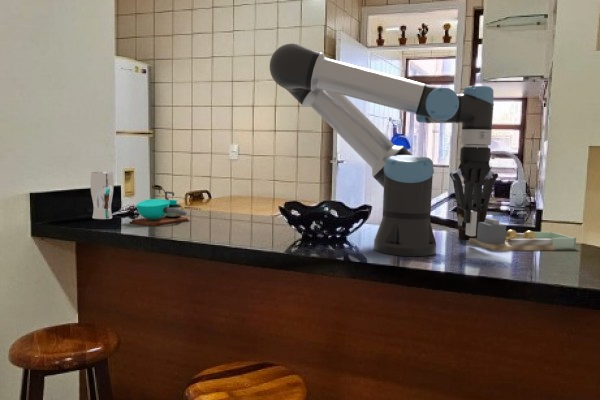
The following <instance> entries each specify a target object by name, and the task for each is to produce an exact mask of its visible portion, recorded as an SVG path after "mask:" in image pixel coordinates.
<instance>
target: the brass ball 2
mask: <svg viewBox="0 0 600 400" xmlns="http://www.w3.org/2000/svg"><path fill="white" fill-rule="evenodd" d="M534 232H535V231H534V230H533V231H532V230H526V231H524V232H523V233H524V235H523V238H524V239H536V234H535V233H534Z"/></svg>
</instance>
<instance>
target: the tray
mask: <svg viewBox="0 0 600 400" xmlns="http://www.w3.org/2000/svg"><path fill="white" fill-rule="evenodd" d="M533 232H534V233H535V234H536V239H553V244H552V245H554V246H555V250H576V246H577V237H572V236H569V235H565V234H561V233H557V232H553V231H533Z"/></svg>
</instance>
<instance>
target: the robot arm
mask: <svg viewBox="0 0 600 400" xmlns="http://www.w3.org/2000/svg"><path fill="white" fill-rule="evenodd" d="M269 72H270V75H271V78H272V80H274V82H275V83H276V84H277V85H278V86H279V87H281V88H283V89H285V90H286V91H287V92H289V94H290V95H291V96H292V97H293V98H294V99H295V100H297V102H298V103H299V104H300V105H301V106H303V107H311V108H312V109H313V110H314V111H315V112H316V113H317V114H318V115H319V116H320V117H321V118H322V119H323V120H324V121H325V122H326V123H327V124H328V126H330V127H331V128H332V129H333V131H335V133H337V134H338V135H339V136H340V137H341V138H342V139H343V140H344V141H345V142H346V144H348V146H350V148H352V149H353V150H354V151H355V152H356V153H357V154H358V156H359V157H361V158H362V160H363V161H364V162H366V164H368V165H369V166H370V167H371V169H372V170H371V171H372V172H371V173H372V175H371V177H372V178H373V179H375V181H377V182H378V184H380V186H382V188H383V196H382V197H383V198H382V199H383V200H382V219H381V221H380V223H379V227H378V229H377V232H376V235H375V237H374V239H373V240H374V241H373V242H374V244H373V249H374V250H375V251H377V252H379V253H383V254H385V255H386V254H387V255H392V256H400V257H426V256H432V255H435V254H436V253H437V242H436V241H437V240H436V239H435V234H434V230H433V227H432V223H431V222H432V221H431V212H432V211H431V210H432V197H433V195H432V194H433V191H432V190H433V177H434V176H433V175H434V172H435V170H434V163H433V160H432V159H431V158H429V157H426V156H422V155H413V154H412V153H411V152H410V151H409V150H408V149H407V148H406V147H405V146H404V145H396V144H394V143H393V142H392V140H390V139H389V138H388V137H387V136H386V135H385V134H384V133H383V132H382V131H381V130H380V129H379V128H378V127H377V126H376V125H375V124H374V123H373V122H372V121H371V120H370V119H369V118H368V117H367V115H365V114H364V113H363V112H362V111H361V110H360V109H359V108H358V107H357V106H356V105H355V104H354V103H353V102H352V101H351V100H350V99H349V98H348V97H350V98H353V99H357V100H361V101H365V102H368V103H373V104H376V105H379V106H383V107H388V108H391V109H394V110H398V111H403V112H406V113H410V114H414V115H415V119H416V122H418V123H423V124H424V123H425V124H461V136H460V144H461V146H462V147H461V148H460V151H459V156H460V157H459V166H458V169H456V170H455V171H453V172H452V171H451V172H450V173H449V177H450V178H451V180H452V184H453V188H454V197H455V201H456V208H457V207H458V208H461V209H463V210H464V223H466V235H468V236H476V223H479V217H480V212H481V211H482V209H486V208H487V206H488V207H489V203H490V199H491V195H492V192H493V187H494V185H495V183H496V181H497V179H498V178H499V174H498V173H497V172H496V173H495V172H494V171H493V170H491V166H490V160H491V152H492V151H491V150H492V149H491V147H489V146H491V145H492V133H493V132H492V131H493V118H494V117H493V115H494V105H495V104H494V89H493V88H492V87H491V86H488V85H470V86H466V87H464V88H463V92H462V93H459V94H457V93H456V92H455V90H453V89H451V88H450V87H446V86H434V85H430V84H426V83H423V82H419V81H415V80H412V79H407V78H404V77H401V76H397V75H396V76H395V75H393V74H388V73H385V72H381V71H377V70H374V69H370V68H366V67H361V66H357V65H354V64H351V63H346V62H344V61H343V62H342V61H339V60H335V59H332V58H328V57H326V55H325V54H324V52H321V51H317V50H313V49H311V48H308V47H306V46H303V45H302V44H301V45H300V44H298V43H297V44H296V43H288V44H287V43H286V44H282V45H281V46H279V47H278V48H277V49H276V50H275V51H274V52H273V54H272V55H271V57H270V61H269ZM462 178H463V182H462ZM463 185H464V186H463ZM463 187H464V189H463ZM472 209H473V211H472Z"/></svg>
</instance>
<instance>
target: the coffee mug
mask: <svg viewBox="0 0 600 400" xmlns="http://www.w3.org/2000/svg"><path fill="white" fill-rule="evenodd" d="M488 208H489V205H488V206H487V208H486V209H482V211H481V212H480V217H479V222H485V218H487V213H488ZM472 211H473V209H472ZM456 217H457V230H458V231H457V233H458V239H460V240H462V241H463V240H464V241H469V238H477V229H478V223H476V236H468V235H466V223H464V210H463V209H461V208H458V207H457V206H456Z"/></svg>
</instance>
